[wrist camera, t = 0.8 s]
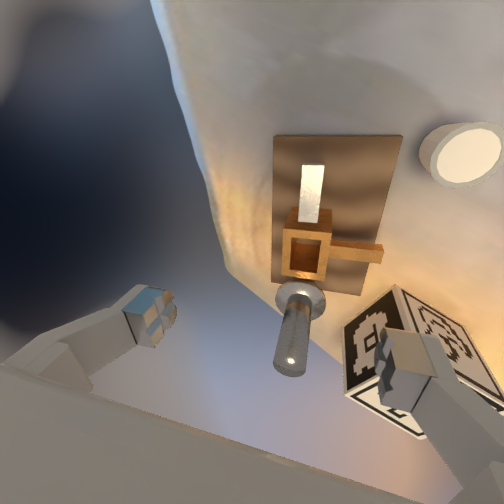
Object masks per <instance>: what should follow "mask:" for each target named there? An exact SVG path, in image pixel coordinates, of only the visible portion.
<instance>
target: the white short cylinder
mask: <svg viewBox="0 0 504 504" xmlns="http://www.w3.org/2000/svg"><path fill="white" fill-rule="evenodd" d="M419 158H420V161H421V163H422V165H423V166H424V167H425V169H426V170H427V171H428V172H429V174H430V175H431V176H432V178H433V179H434V180H436V181H437V182H438V183H439V184H440V185H441V186H445V187H449V188H453V189H456V188H467V187H470V186H473V185H475V184H478V183H480V182H483V181H484V180H486V179H487V178H488V177H490V176H491V175H492V174H494V173H495V172H496V171H497V170H498V169H499V167H500V166H501V165H502V164H503V162H504V130H503V129H502V128H501V127H500V126H499V125H498V124H494V123H489V122H485V121H480V122H468V123H456V124H448V125H442V126H440V127H439V128H437V129H435V130H433V131H432V132H430V133H429V134H428V135H427V136H426V137H425V138H424V140H423V142H422V144H421V145H420V148H419Z"/></svg>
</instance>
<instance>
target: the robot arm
mask: <svg viewBox="0 0 504 504" xmlns="http://www.w3.org/2000/svg"><path fill="white" fill-rule="evenodd" d="M173 298H174V297H173V293H172V291H170V290H167V289H162V288H157V287H152V286H146V285H136V286H135V287H134V288H132V289H131V290H130V291H129V292H128V293H127V294H126V295H124V296H123V297H122V298H121V299H120V300H119V301H117V302H116V303H115V304H114V305H113V306H112V307H111V308H105V309H103V310H100V311H98V312H95V313H93V314H90V315H88V316H85V317H83V318H80V319H78V320H75V321H73V322H71V323H68V324H65V325H63V326H61V327H58V328H55V329H53V330H51V331H48V332H46V333H43V334H41V335H39V336H37V337H36V338H35V339H34V340H32V341H31V342H29V343H28V344H27V345H25V346H24V347H23V348H22V349H20V350H19V351H18V352H16V353H15V354H14V355H13V356H11V357H10V358H8V359H7V360H6V361H4V362H3V363H0V504H422V503H419V502H416V501H413V500H410V499H407V498H404V497H401V496H398V495H395V494H392V493H389V492H386V491H383V490H380V489H377V488H374V487H371V486H368V485H365V484H362V483H359V482H356V481H353V480H350V479H347V478H344V477H341V476H338V475H335V474H332V473H329V472H326V471H323V470H320V469H317V468H314V467H311V466H308V465H305V464H302V463H299V462H296V461H293V460H290V459H287V458H284V457H281V456H278V455H275V454H272V453H269V452H266V451H263V450H260V449H257V448H254V447H251V446H248V445H245V444H242V443H239V442H236V441H233V440H230V439H227V438H224V437H221V436H218V435H215V434H212V433H209V432H206V431H203V430H200V429H197V428H194V427H191V426H188V425H185V424H182V423H179V422H176V421H173V420H170V419H167V418H164V417H161V416H158V415H155V414H152V413H149V412H146V411H143V410H140V409H137V408H134V407H131V406H128V405H125V404H122V403H119V402H116V401H113V400H110V399H107V398H104V397H101V396H98V395H95V394H92V393H90V392H91V391H92V389H93V384H92V382H91V380H90V379H89V376H90V375H92V374H94V373H95V372H96V371H98V370H100V369H101V368H103V367H104V366H106V365H107V364H109V363H111V362H112V361H114V360H115V359H117V358H118V357H120V356H121V355H123V354H124V353H126V352H127V351H129V350H130V349H132V348H134V347H135V346H136V344H137V345H141V346H146V347H151V348H155V347H156V346H157V345H158V343H159V342H160V341H161V339H162V338H163V336H164V331H165V330H166V329H168V328H170V327H171V326H172V324H173V323H174V321H175V319H176V316H177V308H176V305H175V304H174V303H173V302H172V300H173ZM380 340H381V342H379V343H377V344H376V348H375V352H374V368H375V372H376V374H377V375H378V376H379V377H380V378H379V381H378V384H377V386H378V392H379V398H380V404H381V405H383V406H387V407H390V408H394V409H398V410H401V411H405V412H408V413H411V415H412V417H413V418H414V420H415V421H416V422H417V424H418V425H419V427H420V428H421V429H422V431H423V432H424V434H425V435H426V436H427V438H428V439H429V441H430V442H431V443H432V445H433V446H434V448H435V449H436V450H437V452H438V453H439V454H440V456H441V457H442V459H443V460H444V462H445V463H446V464H447V466H448V467H449V469H450V470H451V471H452V473H453V474H454V476H455V477H456V478H457V480H458V481H459V483H460V484H461V485H462V487H463V489H462V490H461V491H460V492H459V493H458V494H457V495H456V496H455V497H454V498H453V499H452V500H451V501H450V502H449V503H448V504H504V417H503V416H502V415H501V414H500V413H499V412H497V411H496V410H495V409H494V408H493V407H492V406H491V405H489V404H488V403H487V402H486V401H485V400H484V399H483V398H481V397H480V396H479V395H478V394H477V393H476V392H475V391H473V390H472V389H471V388H470V387H469V386H468V385H467V384H463V383H460V381H459V379H458V377H457V375H456V373H455V371H454V369H453V367H452V365H451V363H450V361H449V359H448V356H447V354H446V352H445V350H444V348H443V346H442V344H441V342H440V340H439V338H438V337H437V336H436V335H430V334H424V333H416V332H411V331H405V330H399V329H393V328H387V327H383V328H382V329H381V332H380Z"/></svg>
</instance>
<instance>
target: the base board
mask: <svg viewBox="0 0 504 504" xmlns="http://www.w3.org/2000/svg"><path fill="white" fill-rule="evenodd" d="M402 139H403V136H401V135H359V136H274V140H273V201H272V263H271V282H273V283H280V284H283V283H285V282H287V281H289V280H292V279H293V277H291V276H284V275H281V269H282V245H283V228H284V225H285V223H286V220H287V218H288V215H289V213H290V210H291V208H292V207H299V203H300V190H301V177H302V165H303V163H325V166H324V174H323V183H322V191H321V198H320V205H319V209H328V210H332V236H331V239H333V240H343V241H352V242H362V243H372V244H374V243H375V239H376V236H377V232H378V228H379V225H380V221H381V217H382V213H383V210H384V206H385V202H386V198H387V195H388V191H389V187H390V184H391V180H392V176H393V172H394V169H395V165H396V161H397V158H398V154H399V150H400V146H401V143H402ZM297 243H301V244H310V245H319V246H320V240H313V239H303V238H297ZM368 265H369V262H362V261H354V260H345V259H337V258H329V257H328V261H327V267H326V274H325V280H324V281H319V280H315V285H317V286H318V287H319V288H320V289H321V290H325V291H331V292H338V293H344V294H351V295H357V296H360V295H361V291H362V288H363V284H364V280H365V277H366V273H367V269H368Z"/></svg>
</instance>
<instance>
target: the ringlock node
mask: <svg viewBox="0 0 504 504" xmlns="http://www.w3.org/2000/svg"><path fill="white" fill-rule="evenodd" d="M298 216H299V207H292V208H291V210H290V213H289V215H288V218H287V220H286V223H285V225H284V228H283V245H282V269H281V275H284V276H291V277H293V279H292V280H289V281H287V282H285V283H283V284H282V285H281V286H280V287H279V288H278V290H277V294H276V298H275V301H276V305H277V307H278V309H279V310H280V311H281V312H282V313H283V314H284V317H283V322H282V326H281V330H280V335H279V339H278V343H277V347H276V352H275V356H274V361H273V366H274V368H275V369H276V370H277V371H278V372H280V373H281V374H283V375H286V376H289V377H299V376H302V375H303V374H304V373H305V371H306V362H307V352H308V343H309V334H310V324H311V320H314V319H316V318H318V317H320V316H321V315H322V314H323V312H324V310H325V307H326V298H325V295H324V293H323V291H322V290H321V289H320V288H319V287H318V286H317V285H315V280H319V281H324V280H325V274H326V267H327V261H328V257H329V258H337V259H345V260H354V261H362V262H370V263H379V264H381V261H382V257H383V254H384V250H383V247H382V244H372V243H362V242H352V241H343V240H333V239H331V236H332V210H328V209H319V213H318V221H317V223H310V222H298ZM297 238H303V239H313V240H320V246H319V245H310V244H301V243H297Z"/></svg>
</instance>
